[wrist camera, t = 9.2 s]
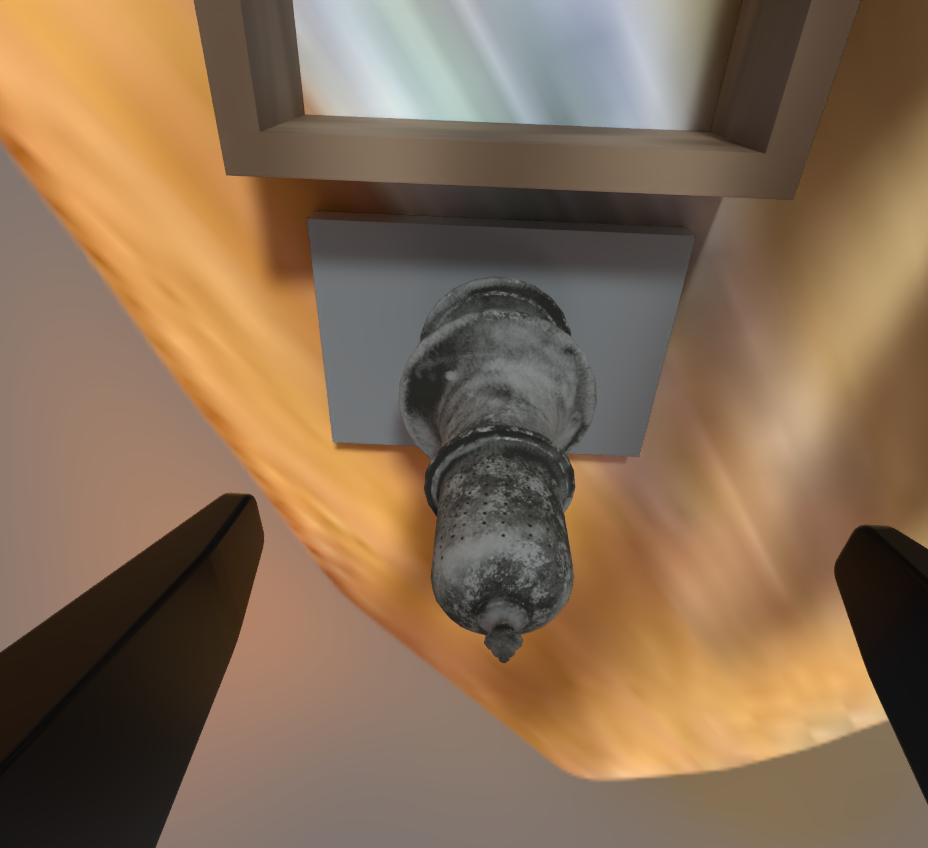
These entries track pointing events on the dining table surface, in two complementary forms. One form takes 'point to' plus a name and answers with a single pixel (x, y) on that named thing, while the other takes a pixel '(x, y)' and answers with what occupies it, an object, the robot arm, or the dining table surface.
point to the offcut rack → (528, 145)
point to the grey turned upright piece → (499, 453)
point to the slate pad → (480, 256)
